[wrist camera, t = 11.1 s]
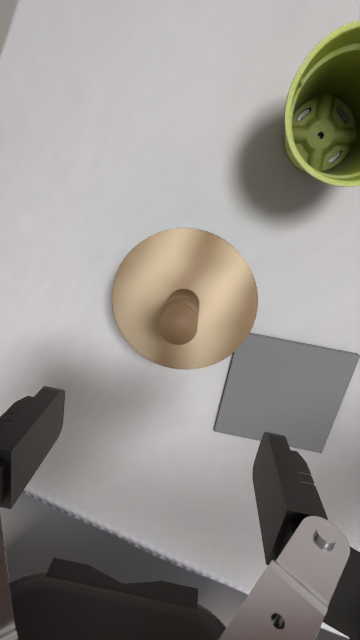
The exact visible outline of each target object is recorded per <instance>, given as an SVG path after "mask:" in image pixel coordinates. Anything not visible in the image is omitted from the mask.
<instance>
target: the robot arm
mask: <svg viewBox="0 0 360 640" xmlns="http://www.w3.org/2000/svg"><path fill="white" fill-rule="evenodd" d="M64 400H65V391H64V390H62V389H57V388H52V387H47V386H44V387H43V388H42V389H41V390H40V391H39V392H38V393H37V394H36V395H35V396H34V397H30V396H27V397H25V398H23V399H21V400H19V401H17V402H15V403H14V404H13V405H12V406H11V407H10V408H9V409H8V410H7V411H6V413H4V414H3V415H2V416H1V417H0V507H4V508H8V509H11V508H12V507H13V505H14V504H15V502H16V501H17V499H18V498H19V496H20V495H21V493H22V492H23V490H24V489H25V487H26V485H27V484H28V482H29V481H30V479H31V478H32V476H33V475H34V473H35V472H36V470H37V469H38V467H39V466H40V464H41V463H42V461H43V460H44V458H45V457H46V455H47V454H48V452H49V451H50V449H51V448H52V446H53V445H54V443H55V442H56V440H57V438H58V437H59V435H60V432H61V429H62V425H63V415H64ZM253 484H254V490H255V496H256V503H257V509H258V515H259V521H260V528H261V534H262V540H263V547H264V553H265V559H266V565H269V566H268V567H267V568H266V570H265V571H264V573H263V574H262V576H261V577H260V579H259V580H258V582H257V583H256V585H255V586H254V588H253V589H252V591H251V592H250V594H249V595H248V597H247V598H246V600H245V601H244V603H243V604H242V606H241V607H240V609H239V610H238V611H237V613H236V614H235V616H234V617H233V619H232V620H231V622H230V623H229V625H228V626H227V628H226V627H225V626H224V624H223V623H222V622H221V621H220V620H219V619H218V618H217V617H216V616H215V615H214V614H212V613H211V612H210V611H209V610H208V609H206V608H205V607H203V606H202V605H200V604H198V603H197V599H198V589H196V588H192V587H187V586H182V585H178V584H173V583H169V582H163V581H157V582H144V583H130V584H123V583H120V582H118V581H116V580H115V579H113V578H111V577H109V576H107V575H105V574H104V573H102V572H100V571H98V570H96V569H95V568H93V567H91V566H89V565H85V564H80V563H76V562H71V561H66V560H62V559H57V558H53V561H52V563H51V565H50V567H49V570H48V571H42V572H36V573H32V574H29V575H26V576H23V577H21V578H18V579H16V580H14V581H12V582H10V583H9V577H8V569H7V562H6V554H5V547H4V539H3V531H2V523H1V516H0V640H315V639H316V636H317V634H318V632H319V629H320V627H321V624H322V622H324V623H325V624H327V625H329V626H331V627H332V628H334V629H336V630H338V631H339V632H341V633H343V634H344V635H346V636H348V637H349V638H350V640H360V552H358V551H356V550H355V549H353V548H351V547H350V545H349V543H348V540H347V539H346V537H345V535H344V534H343V533H342V532H341V530H340V529H339V528H338V527H337V526H335V525H334V524H333V523H331V522H330V521H328V518H327V516H326V513H325V510H324V508H323V505H322V503H321V500H320V497H319V495H318V492H317V489H316V487H315V486H314V481H313V479H312V476H311V473H310V471H309V468H308V466H307V463H306V462H305V460H304V459H303V458H302V457H301V456H300V454H299V453H298V452H297V451H292V450H290V448H289V445H288V442H287V439H286V437H285V435H280V434H275V433H271V432H264V434H263V436H262V439H261V442H260V446H259V449H258V452H257V455H256V458H255V461H254V466H253Z"/></svg>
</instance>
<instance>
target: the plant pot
mask: <svg viewBox="0 0 360 640" xmlns="http://www.w3.org/2000/svg"><path fill="white" fill-rule="evenodd" d="M307 108H311V111H310V112H309V113H307V114H306V115H305V116H304V117H303V118H302V119H301V120H300V121H297V118H298V116H299V115H300V114H301V113H302V112H303V111H304V110H305V109H307ZM339 108H340V109H341V110H342V111H343V113H345V114H346V116H347V119H348V120H347V122H344V120H343V119H342V117H341V116H340V114H339V113H338V112H337V109H339ZM284 125H285V149H286V153H287V155H288V157H289V159H290V160H291V162H292V163H293V164H294V165H295V166H296V167H297V168H299V169H300V170H302V171H305V172H307V173H308V174H309V175H311V176H312V177H314V178H315V179H317V180H319V181H321V182H324V183H327V184H330V185H334V186H342V187H353V186H360V20H357V21H353V22H351V23H348V24H346V25H344V26H342V27H340V28H338V29H336V30H335V31H333V32H332V33H330V34H329V35H328V36H326V37H325V38H324V39H323V40H322V41H321V42H319V43H318V44H317V45H316V46H315V48H314V49H313V50H312V51H311V52H310V53H309V55H308V56H307V57H306V59H305V60H304V62H303V63H302V65H301V66H300V68H299V70H298V71H297V73H296V75H295V77H294V79H293V82H292V84H291V87H290V90H289V93H288V96H287V100H286V106H285V115H284ZM320 132H323V134H324V136H323V138H322V139H320V138H319V137H318V134H319V133H320ZM340 150H341V154H340V156H339V157H338V158H337V159H336V160H335V161H333V162H332V163H329V162H328V160H329V159H331V158H332V157H334V156H335V155H336V154H337V153H338V152H340Z"/></svg>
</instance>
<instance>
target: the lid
mask: <svg viewBox="0 0 360 640" xmlns="http://www.w3.org/2000/svg"><path fill="white" fill-rule="evenodd" d="M112 305H113V312H114V316H115V319H116V322H117V325H118V327H119V329H120V331H121V333H122V334H123V336H124V337H125V339H126V340H127V341H128V343H129V344H130V345H131V346H132V347H133V348H134V349H135V350H136V351H137V352H138V353H140V354H141V355H143V356H144V357H145V358H147V359H149V360H151V361H152V362H154V363H157V364H159V365H162V366H165V367H169V368H174V369H199V368H203V367H207V366H210V365H213V364H216V363H218V362H220V361H222V360H224V359H225V358H227V357H228V356H230V355H231V354H232V353H233V352H234V351H236V350H237V349H238V348H239V347H240V345H241V344H242V343H243V342H244V341H245V339H246V338H247V336H248V335H249V333H250V331H251V329H252V327H253V324H254V321H255V318H256V313H257V306H258V294H257V287H256V283H255V279H254V277H253V274H252V271H251V269H250V268H249V266H248V264H247V262H246V261H245V260H244V258H243V257H242V255H241V254H240V253H239V252H238V251H237V250H236V249H235V248H234V247H233V246H232V245H231V244H229V243H228V242H227V241H225V240H224V239H222V238H220V237H219V236H217V235H214V234H212V233H210V232H207V231H203V230H199V229H192V228H176V229H169V230H165V231H162V232H159V233H157V234H154V235H152V236H150V237H148V238H147V239H145V240H143V241H142V242H140V243H139V244H138V245H137V246H135V247H134V248H133V249H132V250H131V251H130V252H129V254H128V255H127V256H126V257H125V259H124V260H123V262H122V263H121V265H120V267H119V269H118V271H117V274H116V277H115V280H114V284H113V289H112Z"/></svg>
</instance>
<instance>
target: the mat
mask: <svg viewBox="0 0 360 640" xmlns="http://www.w3.org/2000/svg"><path fill="white" fill-rule="evenodd" d="M359 358H360V355H359V354H357V353H352V352H346V351H341V350H336V349H331V348H326V347H321V346H316V345H311V344H305V343H300V342H295V341H290V340H285V339H280V338H275V337H270V336H264V335H259V334H254V333H249V335H248V336H247V338H246V339H245V341H244V342H243V343H242V344H241V345H240V347H239V348H238V349H237V350H236V351H234V354H233V358H232V362H231V365H230V369H229V373H228V377H227V381H226V385H225V389H224V393H223V397H222V401H221V404H220V408H219V412H218V416H217V420H216V424H215V428H214V431H215V432H220V433H225V434H230V435H235V436H240V437H245V438H250V439H254V440H259V441H261V439H262V436H263V434H264V432H271V433H275V434H280V435H285V437H286V439H287V442H288V445H289V447H294V448H299V449H304V450H309V451H314V452H319V453H322V450H323V448H324V445H325V443H326V440H327V438H328V435H329V433H330V430H331V428H332V425H333V423H334V420H335V418H336V415H337V413H338V410H339V408H340V405H341V403H342V400H343V398H344V395H345V393H346V390H347V388H348V385H349V383H350V380H351V378H352V375H353V373H354V370H355V368H356V365H357V363H358V360H359Z"/></svg>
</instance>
